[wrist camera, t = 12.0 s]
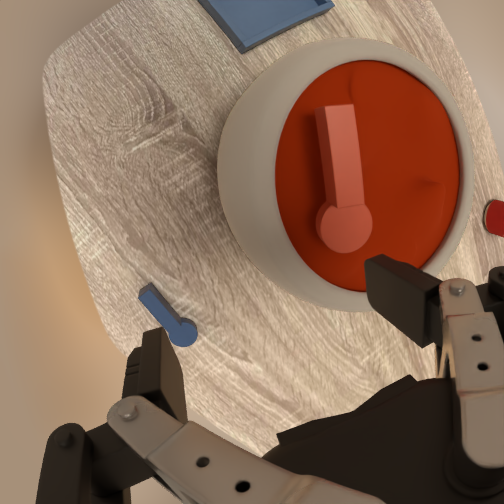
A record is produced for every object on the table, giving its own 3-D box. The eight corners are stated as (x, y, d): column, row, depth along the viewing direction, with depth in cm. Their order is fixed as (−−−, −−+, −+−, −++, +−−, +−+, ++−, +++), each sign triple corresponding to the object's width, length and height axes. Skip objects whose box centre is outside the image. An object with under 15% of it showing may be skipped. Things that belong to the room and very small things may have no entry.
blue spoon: (133, 294, 37) (131, 302, 35) (156, 278, 37) (155, 284, 35) (180, 346, 40) (181, 356, 38) (202, 332, 40) (204, 341, 38)
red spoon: (299, 110, 18) (308, 107, 16) (353, 105, 18) (367, 103, 16) (317, 251, 22) (327, 264, 19) (366, 242, 22) (380, 253, 20)
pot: (381, 254, 44) (473, 304, 27) (210, 272, 38) (240, 358, 22) (385, 84, 37) (487, 64, 20) (203, 66, 32) (230, -6, 15)
